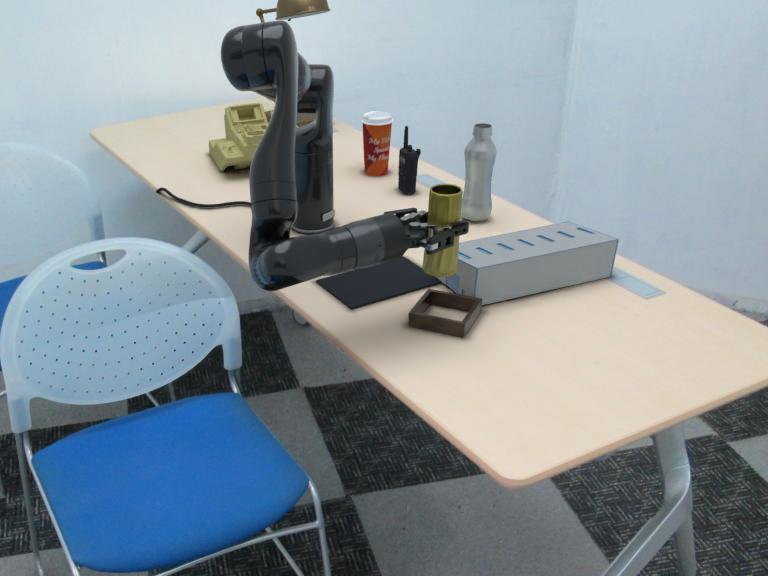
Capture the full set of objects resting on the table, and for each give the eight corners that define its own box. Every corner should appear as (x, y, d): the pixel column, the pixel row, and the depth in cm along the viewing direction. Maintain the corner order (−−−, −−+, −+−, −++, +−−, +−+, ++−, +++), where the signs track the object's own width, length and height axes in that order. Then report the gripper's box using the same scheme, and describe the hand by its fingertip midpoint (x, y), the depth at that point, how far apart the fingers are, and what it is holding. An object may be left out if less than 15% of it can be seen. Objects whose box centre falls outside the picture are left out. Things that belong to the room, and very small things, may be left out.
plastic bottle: (490, 225, 182) (500, 131, 171) (458, 223, 184) (465, 130, 172) (491, 213, 188) (500, 121, 176) (460, 212, 189) (467, 120, 177)
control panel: (198, 101, 218) (272, 84, 222) (207, 157, 229) (278, 140, 233) (223, 142, 202) (303, 124, 205) (231, 200, 213) (307, 182, 216)
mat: (351, 309, 153) (351, 307, 153) (315, 281, 163) (315, 280, 163) (442, 283, 161) (442, 281, 161) (403, 257, 170) (403, 256, 170)
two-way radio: (395, 188, 202) (397, 124, 193) (412, 186, 203) (415, 122, 194) (405, 196, 197) (407, 131, 189) (422, 193, 199) (426, 128, 190)
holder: (407, 326, 148) (408, 312, 146) (427, 301, 155) (428, 288, 154) (463, 337, 144) (464, 324, 143) (481, 311, 151) (482, 298, 150)
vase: (418, 262, 148) (423, 183, 140) (453, 260, 149) (460, 181, 141) (426, 278, 144) (431, 197, 135) (461, 276, 144) (469, 195, 136)
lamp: (294, 136, 237) (289, -11, 216) (241, 108, 261) (232, -26, 240) (341, 127, 242) (340, -17, 221) (284, 100, 267) (279, -32, 246)
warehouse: (564, 247, 172) (570, 212, 168) (611, 276, 161) (618, 239, 156) (433, 275, 163) (435, 237, 159) (473, 307, 152) (477, 268, 148)
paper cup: (370, 180, 207) (371, 121, 199) (354, 170, 213) (355, 113, 205) (398, 173, 210) (400, 116, 202) (381, 165, 216) (382, 108, 208)
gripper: (396, 235, 129) (486, 212, 135) (347, 205, 139) (432, 185, 145) (394, 281, 133) (481, 256, 139) (346, 247, 143) (429, 226, 150)
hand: (456, 220), depth 142 cm, fingers closed on vase, 5 cm apart
